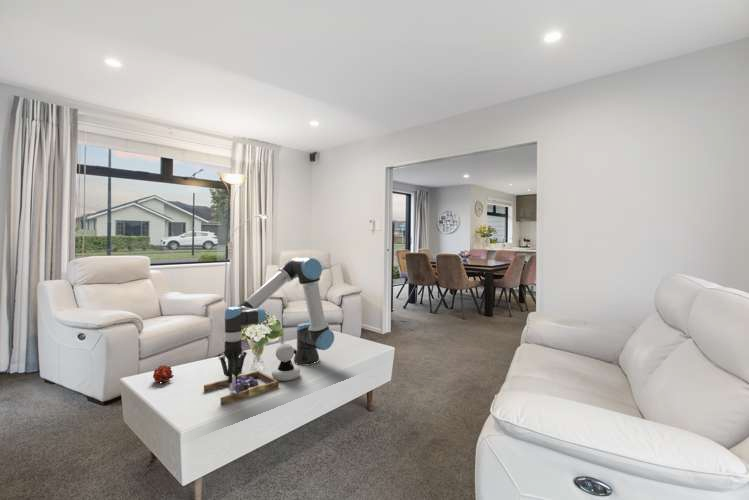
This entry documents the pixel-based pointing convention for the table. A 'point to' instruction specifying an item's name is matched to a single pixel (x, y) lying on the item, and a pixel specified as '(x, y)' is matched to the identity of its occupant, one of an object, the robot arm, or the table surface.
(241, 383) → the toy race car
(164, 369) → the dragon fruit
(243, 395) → the wooden tray
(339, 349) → the table surface
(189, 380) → the table surface
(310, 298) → the robot arm
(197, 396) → the table surface
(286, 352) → the decorative figurine
